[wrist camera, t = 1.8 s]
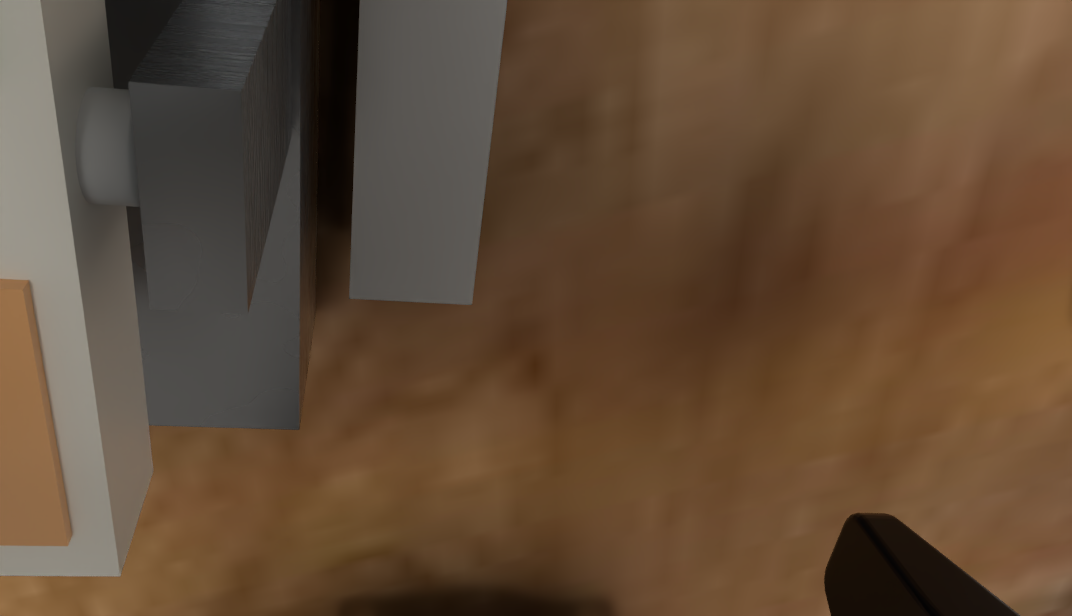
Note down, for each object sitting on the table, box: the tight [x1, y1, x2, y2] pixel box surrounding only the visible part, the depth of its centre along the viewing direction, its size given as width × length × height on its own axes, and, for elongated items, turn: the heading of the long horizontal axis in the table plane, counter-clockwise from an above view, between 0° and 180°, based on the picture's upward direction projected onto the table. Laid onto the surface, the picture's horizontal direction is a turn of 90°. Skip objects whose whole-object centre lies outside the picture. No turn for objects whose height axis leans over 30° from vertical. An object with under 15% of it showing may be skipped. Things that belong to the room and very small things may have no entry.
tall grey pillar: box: [349, 0, 507, 305], centre depth 13 cm, size 8×2×2 cm, turn 172°
